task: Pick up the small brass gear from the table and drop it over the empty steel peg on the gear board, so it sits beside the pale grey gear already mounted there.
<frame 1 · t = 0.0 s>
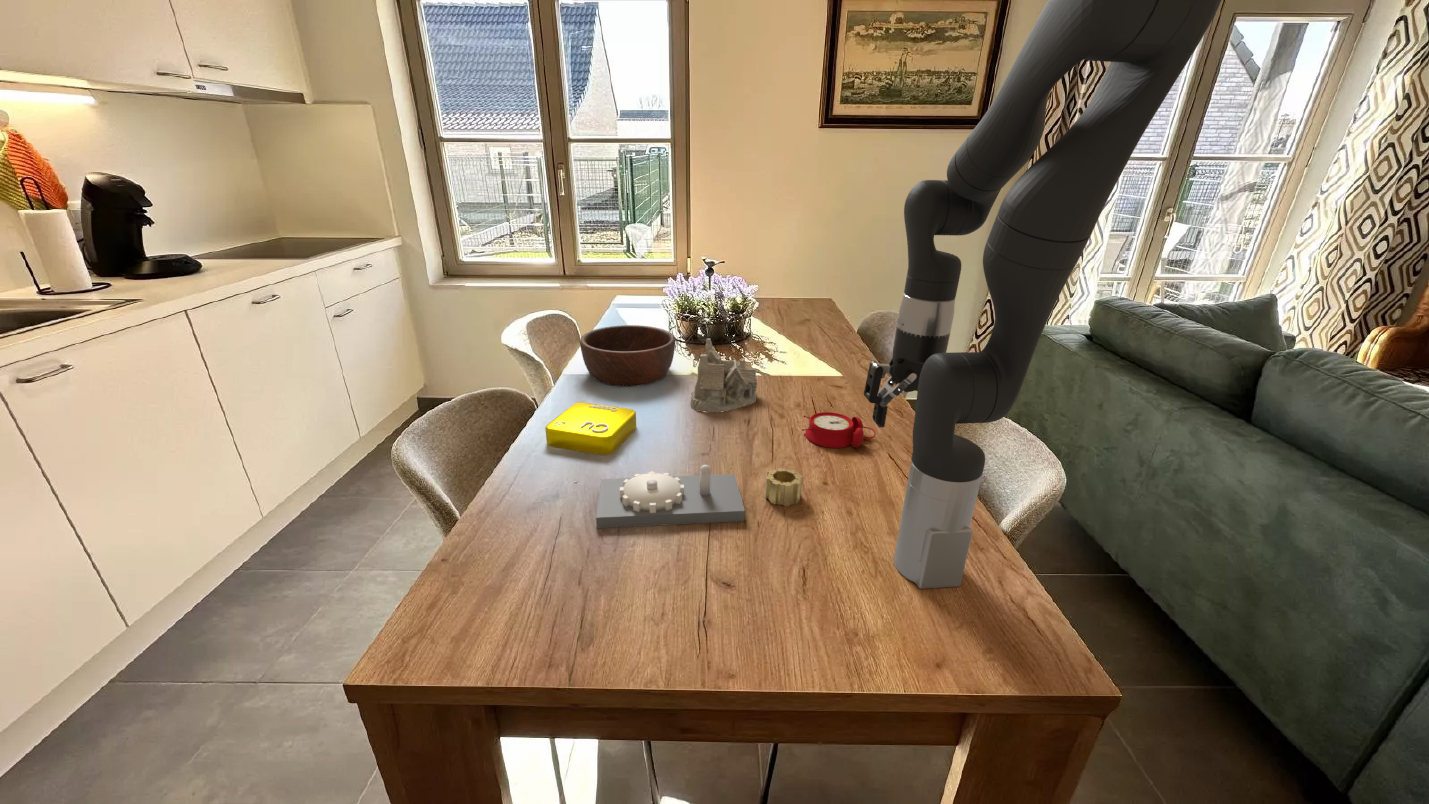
hand: (905, 424, 93), 17 cm above the table, tool pointing down, fingers open, 8 cm apart
element tile: (593, 437, 126), on the table
gear board: (670, 504, 102), on the table
ceramic cottage: (723, 401, 145), on the table
brass gear: (782, 496, 105), on the table
alarm clock: (837, 439, 127), on the table
wooden bowl: (629, 374, 160), on the table
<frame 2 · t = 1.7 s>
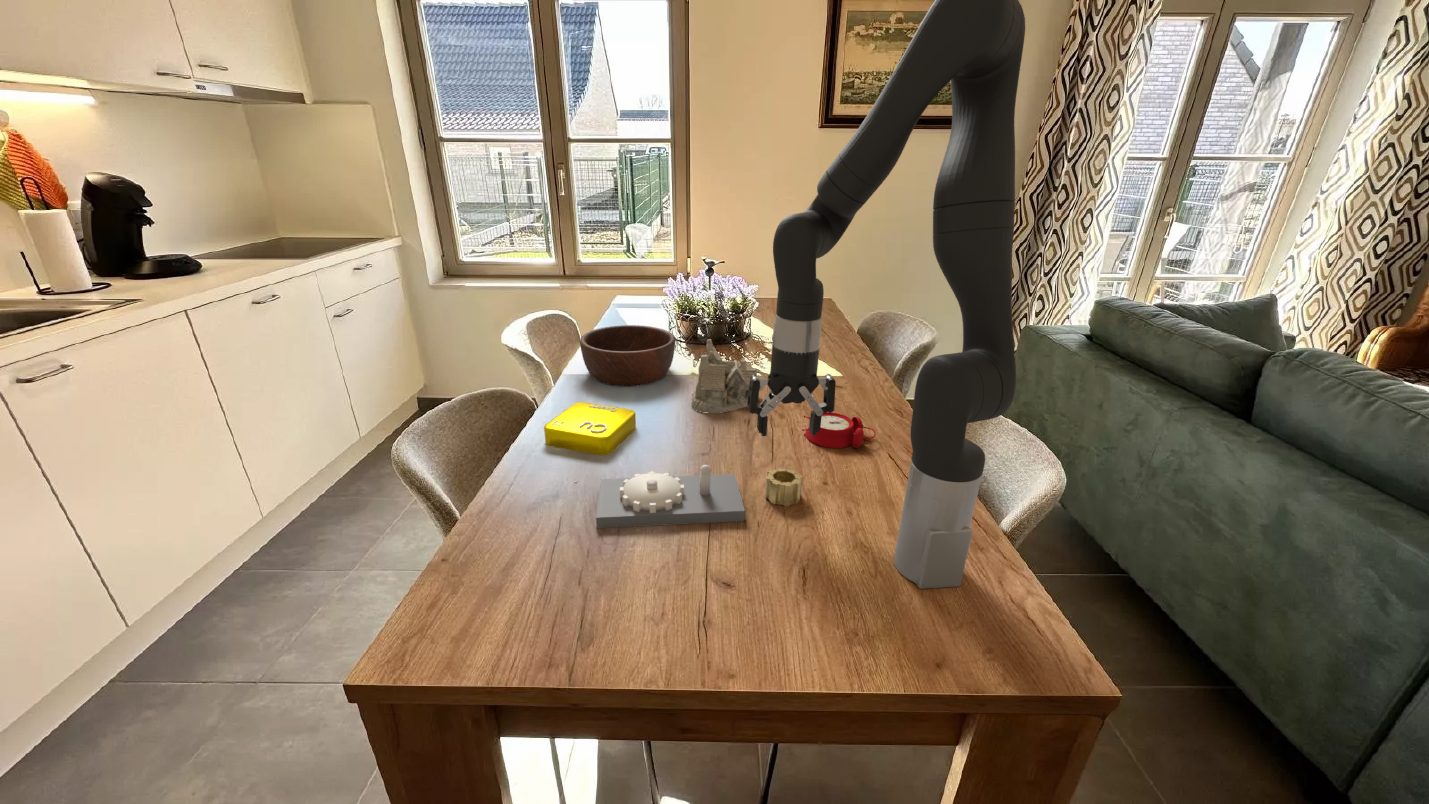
hand: (788, 433, 101), 12 cm above the table, tool pointing down, fingers open, 8 cm apart
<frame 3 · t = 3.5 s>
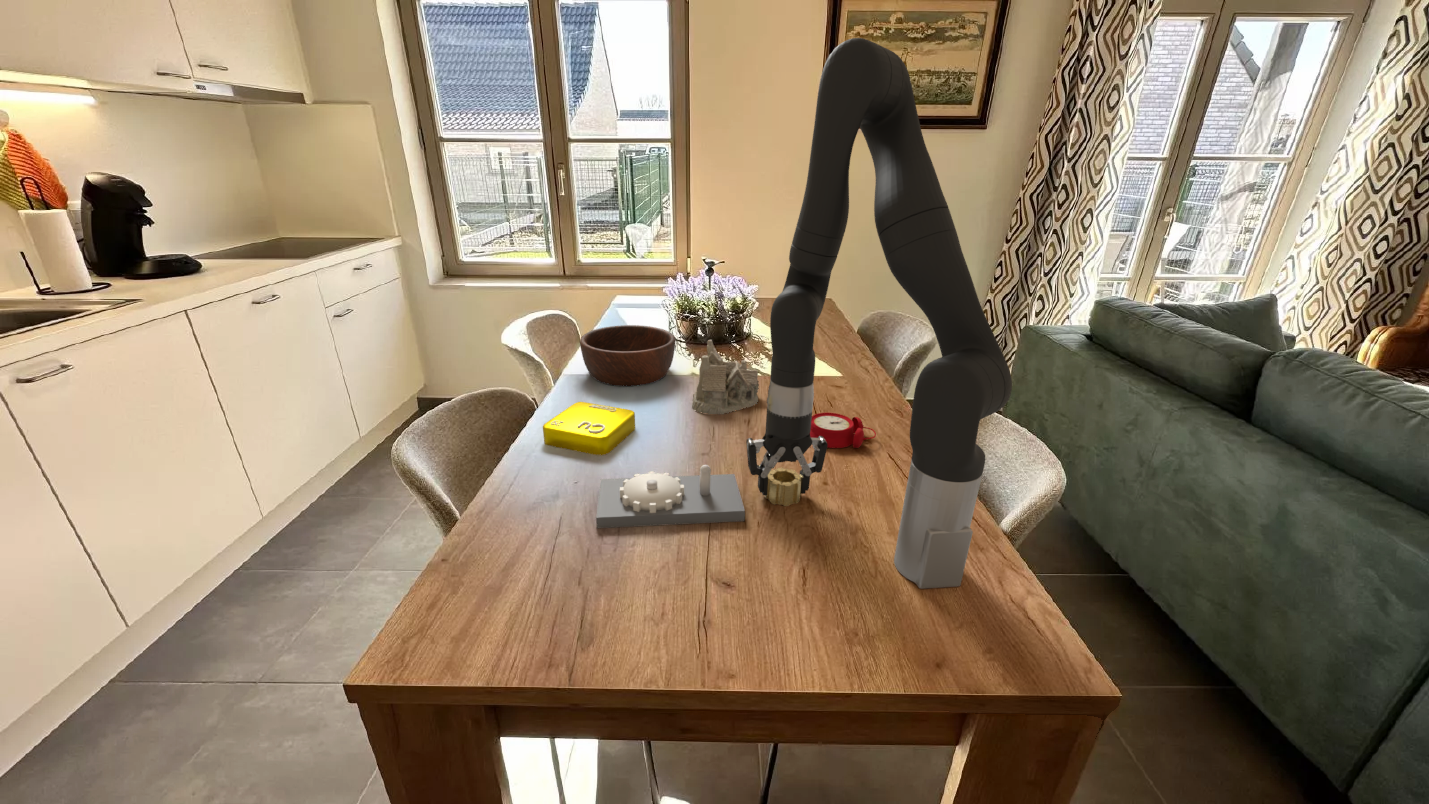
hand: (783, 492, 105), 1 cm above the table, tool pointing down, fingers closed on brass gear, 6 cm apart
brass gear: (782, 496, 105), on the table, touching gripper
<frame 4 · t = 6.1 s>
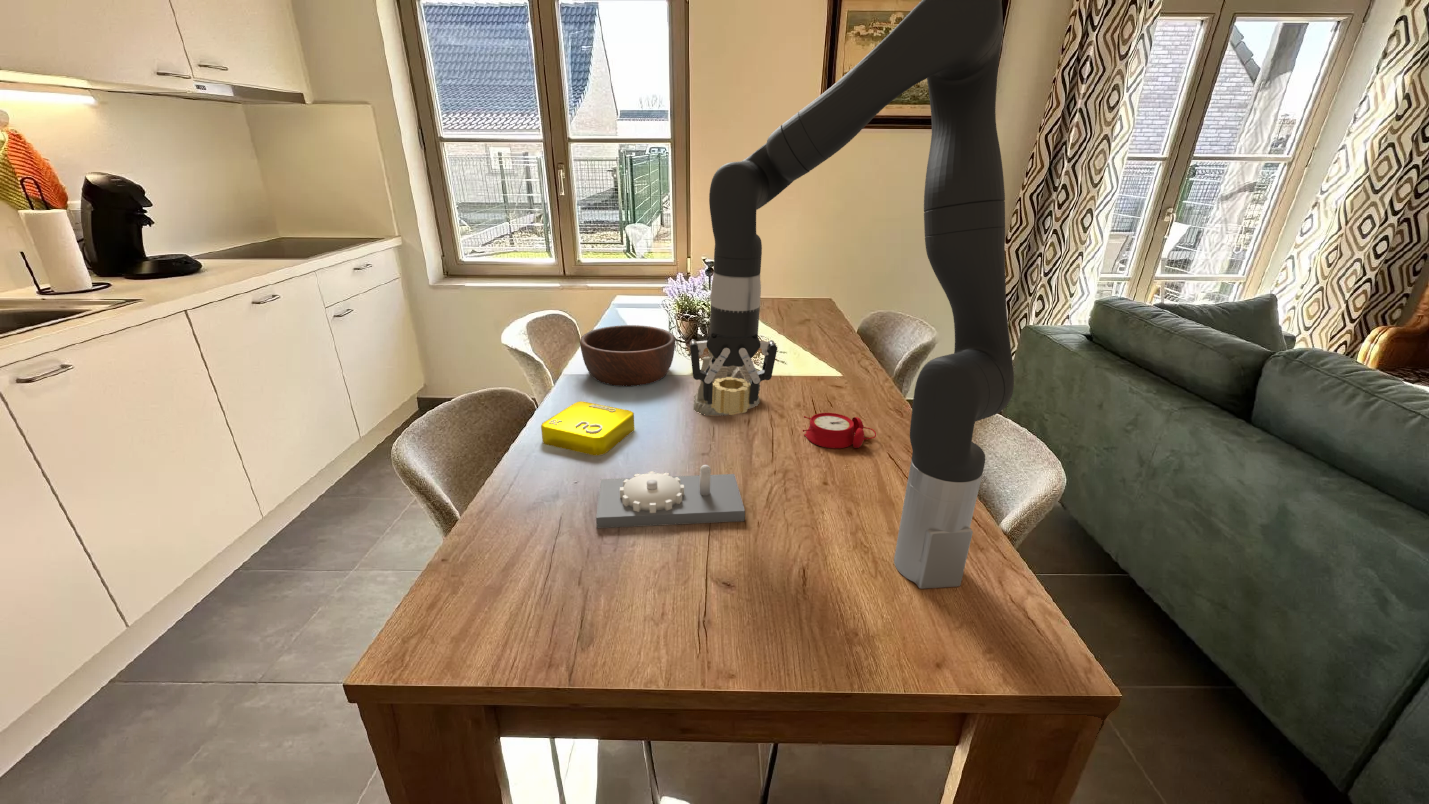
hand: (730, 402, 97), 18 cm above the table, tool pointing down, fingers closed on brass gear, 6 cm apart
brass gear: (730, 406, 98), point 17 cm above the table, touching gripper
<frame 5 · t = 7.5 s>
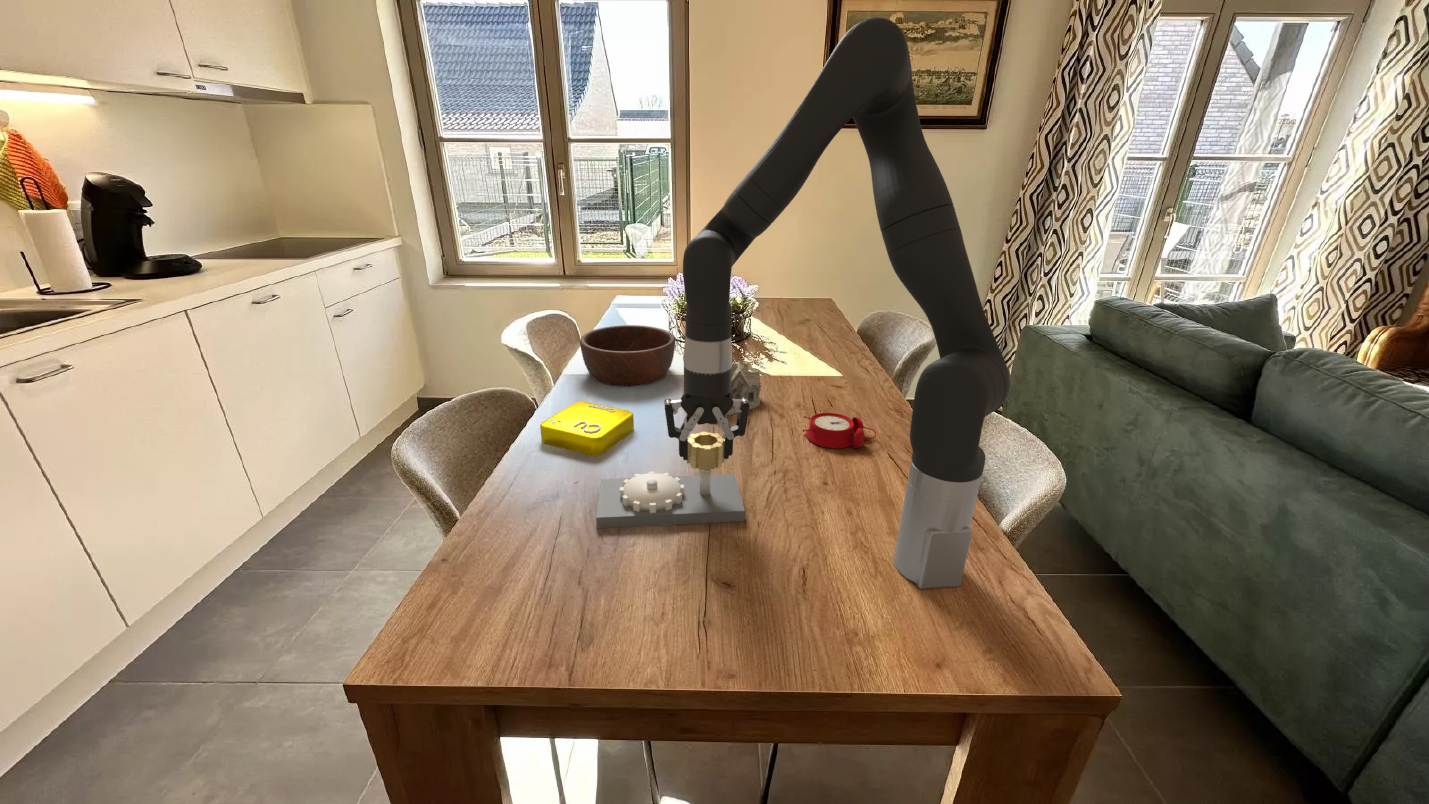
hand: (705, 457, 99), 9 cm above the table, tool pointing down, fingers closed on brass gear, 6 cm apart
brass gear: (705, 461, 100), point 8 cm above the table, touching gripper
when the fingers open (5 cm above the table, at t = 8.8 s): brass gear drops 2 cm, resting on gear board.
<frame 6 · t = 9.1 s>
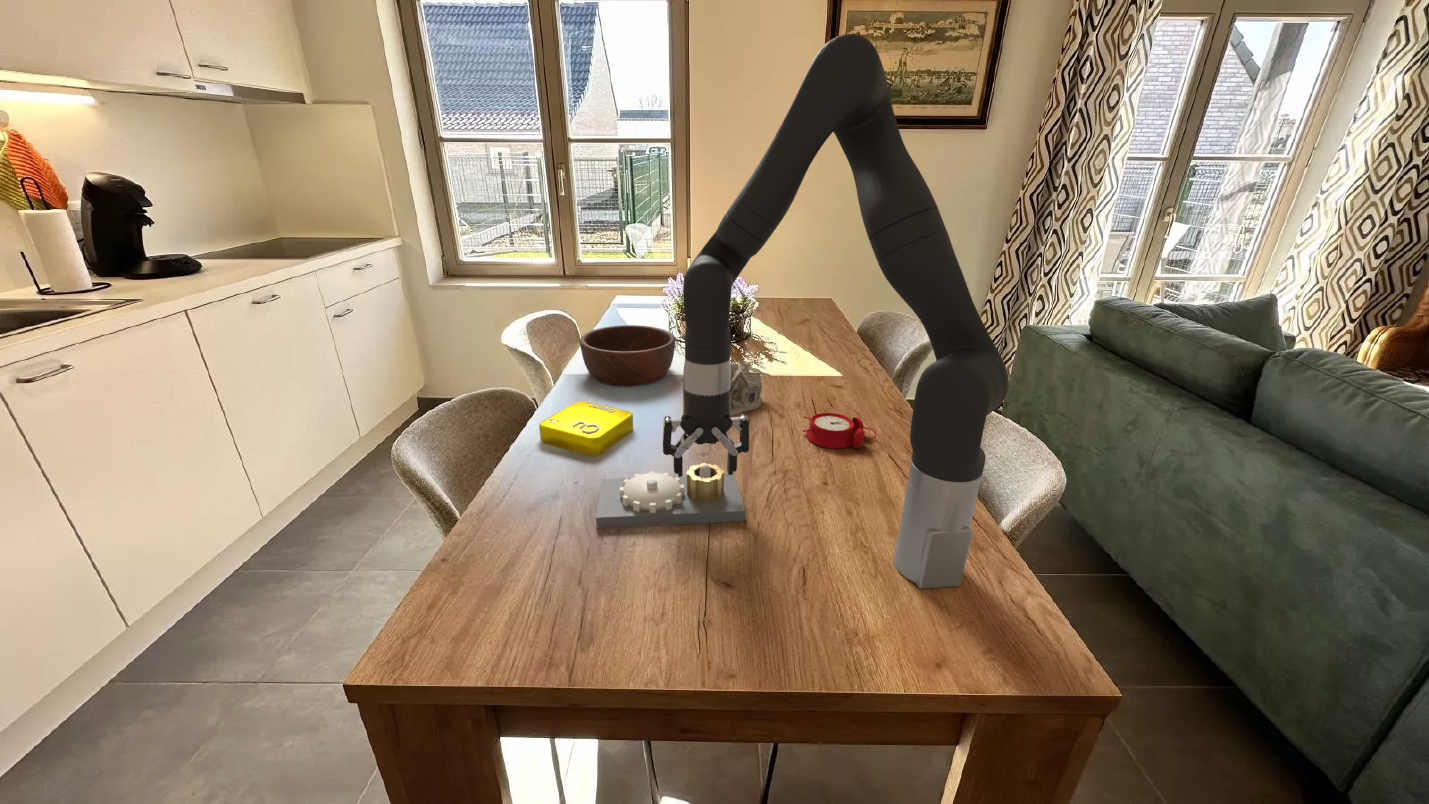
hand: (705, 473, 100), 6 cm above the table, tool pointing down, fingers open, 8 cm apart
brass gear: (705, 492, 102), point 2 cm above the table, touching gear board
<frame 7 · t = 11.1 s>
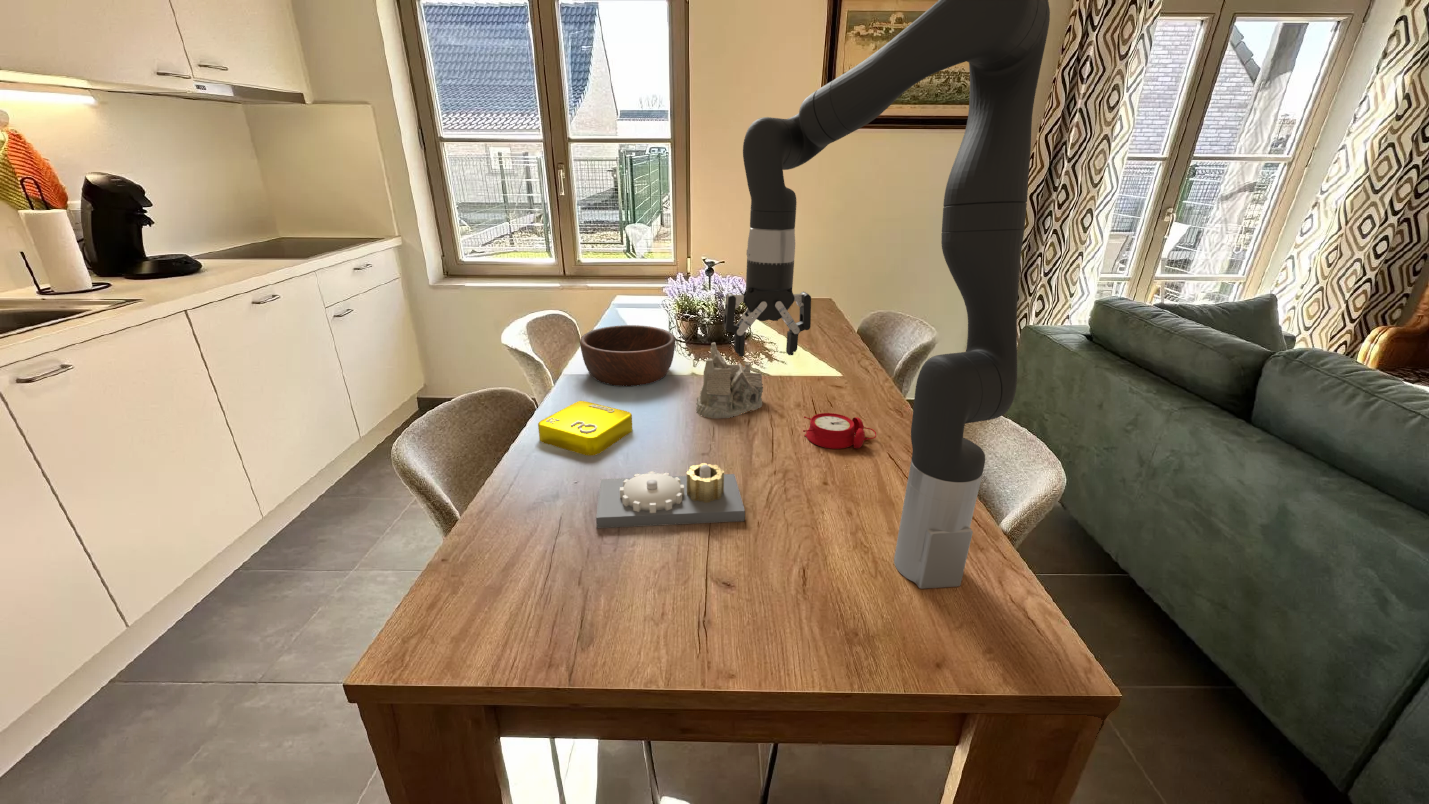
hand: (765, 354, 100), 25 cm above the table, tool pointing down, fingers open, 8 cm apart
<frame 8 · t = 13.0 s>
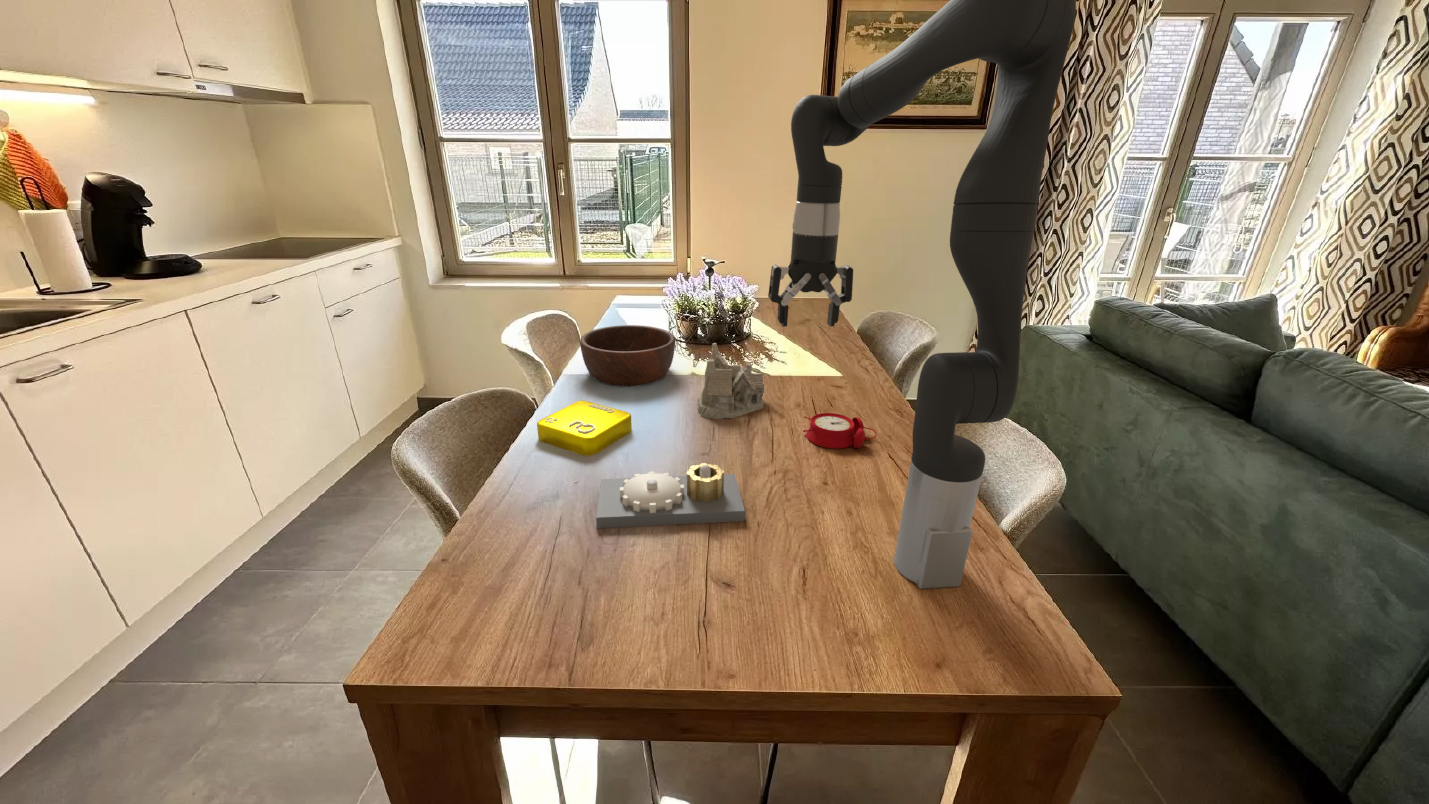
hand: (807, 325, 105), 28 cm above the table, tool pointing down, fingers open, 8 cm apart
at the end: brass gear 0.1 cm from the target spot on the gear board, point 2.0 cm above the gear board's base; brass gear tilted 0°; the gripper is holding nothing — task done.
